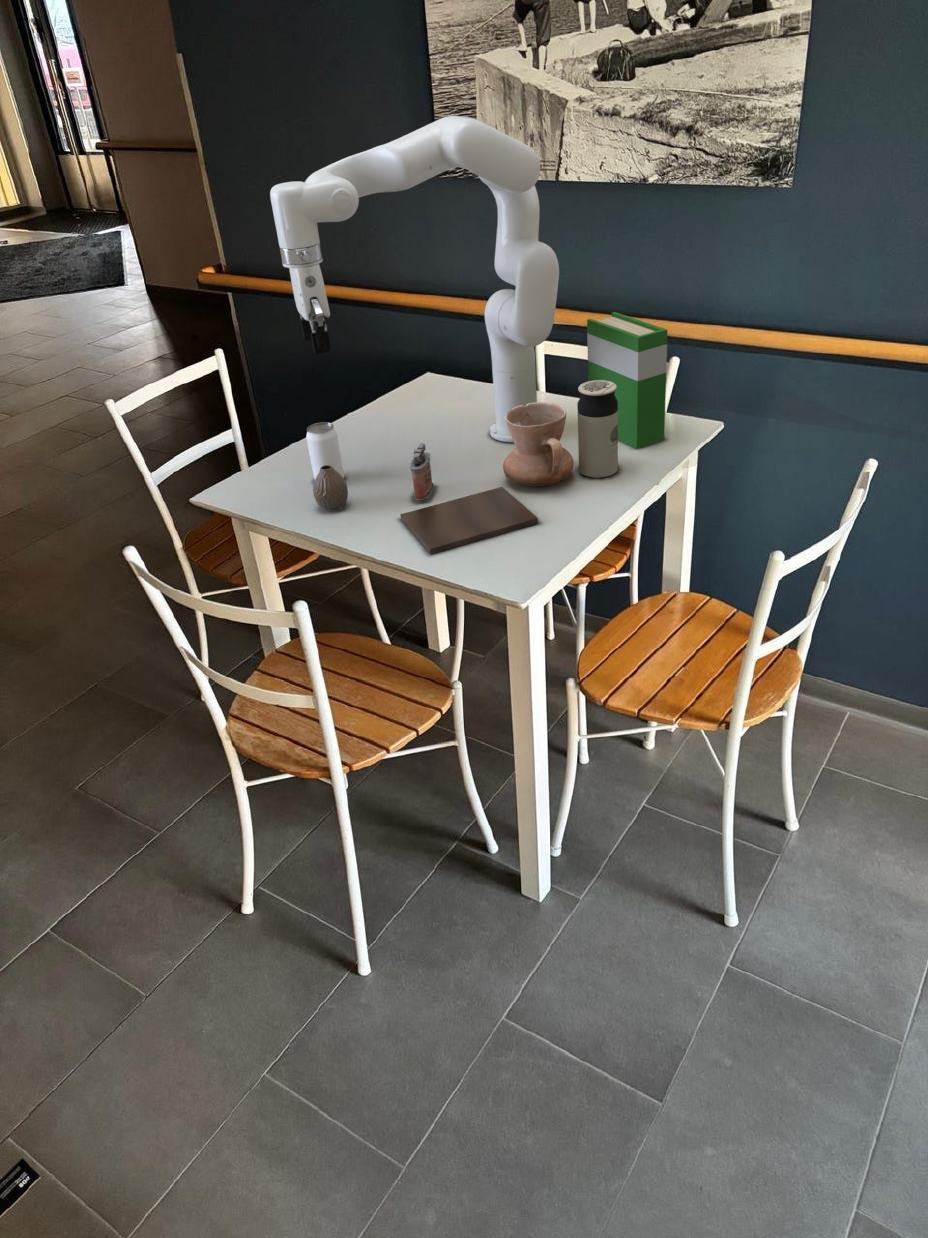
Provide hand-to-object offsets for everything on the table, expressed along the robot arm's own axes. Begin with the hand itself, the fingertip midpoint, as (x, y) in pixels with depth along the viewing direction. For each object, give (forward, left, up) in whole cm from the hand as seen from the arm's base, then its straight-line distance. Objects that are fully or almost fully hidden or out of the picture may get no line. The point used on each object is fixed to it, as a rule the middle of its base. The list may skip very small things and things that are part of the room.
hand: (317, 345), depth 185 cm
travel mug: (-48, +26, -30) cm, 62 cm away
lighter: (-13, +16, -30) cm, 36 cm away
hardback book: (-63, +12, -30) cm, 71 cm away
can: (+2, -2, -30) cm, 30 cm away
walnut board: (-16, +32, -30) cm, 46 cm away
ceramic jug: (-36, +23, -30) cm, 52 cm away
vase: (+5, +11, -30) cm, 32 cm away
